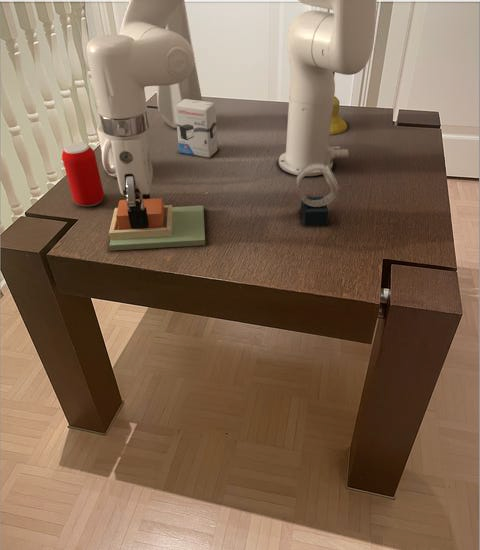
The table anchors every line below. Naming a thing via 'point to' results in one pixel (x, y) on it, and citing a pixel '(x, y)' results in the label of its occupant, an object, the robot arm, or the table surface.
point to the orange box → (153, 212)
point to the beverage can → (83, 174)
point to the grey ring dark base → (316, 207)
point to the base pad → (163, 231)
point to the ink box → (196, 127)
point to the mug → (106, 153)
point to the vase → (184, 89)
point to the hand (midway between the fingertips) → (141, 216)
